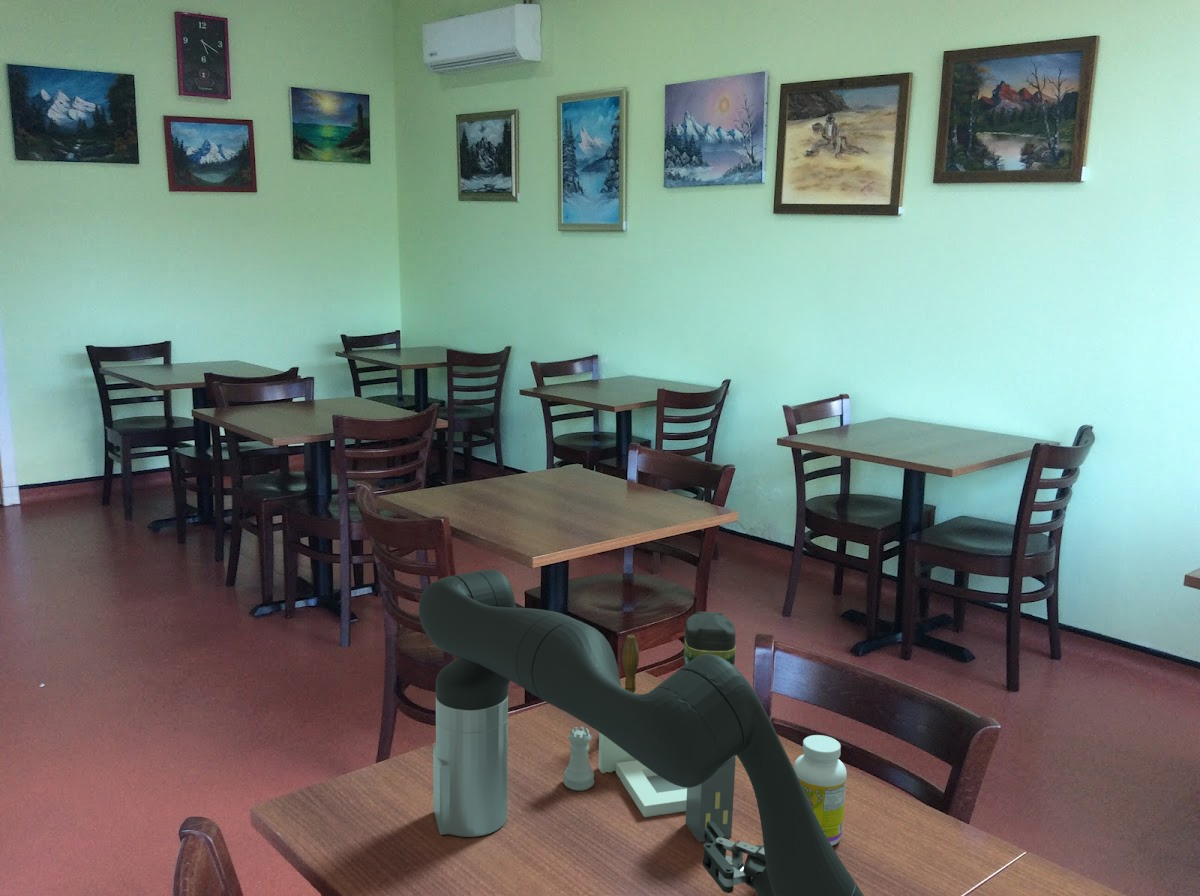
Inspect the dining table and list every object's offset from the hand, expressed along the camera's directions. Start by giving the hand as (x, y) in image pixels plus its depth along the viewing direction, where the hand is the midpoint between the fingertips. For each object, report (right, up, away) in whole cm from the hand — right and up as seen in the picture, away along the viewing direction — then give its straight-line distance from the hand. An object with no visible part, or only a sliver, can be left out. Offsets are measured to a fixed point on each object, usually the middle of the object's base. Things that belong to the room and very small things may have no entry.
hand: (741, 823), depth 119 cm
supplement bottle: (+11, -5, +10) cm, 15 cm away
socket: (-6, -3, +21) cm, 22 cm away
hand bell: (-12, 0, +37) cm, 39 cm away
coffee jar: (0, 0, +38) cm, 38 cm away
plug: (-3, -5, +10) cm, 11 cm away
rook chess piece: (-20, -3, +21) cm, 29 cm away
